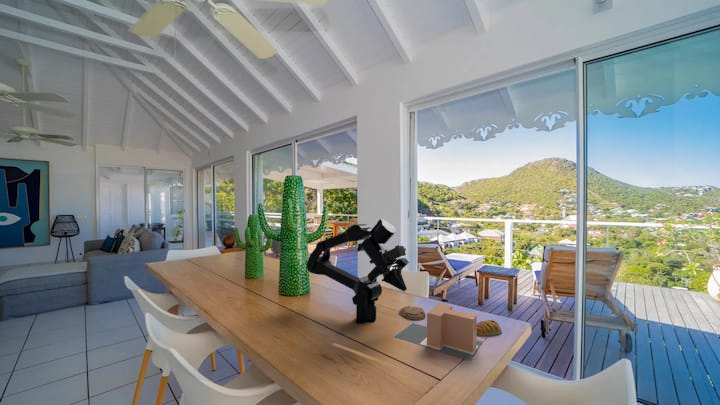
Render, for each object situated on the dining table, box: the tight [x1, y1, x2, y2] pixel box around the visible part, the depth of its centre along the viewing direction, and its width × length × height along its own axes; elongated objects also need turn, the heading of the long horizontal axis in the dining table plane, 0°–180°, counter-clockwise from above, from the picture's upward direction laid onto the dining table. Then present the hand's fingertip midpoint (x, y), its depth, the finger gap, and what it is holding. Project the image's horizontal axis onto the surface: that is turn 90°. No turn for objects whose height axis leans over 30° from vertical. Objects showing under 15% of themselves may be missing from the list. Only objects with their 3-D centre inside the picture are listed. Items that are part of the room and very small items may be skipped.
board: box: [394, 322, 484, 362], centre depth 87 cm, size 22×13×1 cm, turn 54°
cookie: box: [398, 305, 427, 322], centre depth 106 cm, size 10×11×3 cm
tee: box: [426, 303, 478, 353], centre depth 84 cm, size 12×10×9 cm
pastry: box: [477, 319, 503, 337], centre depth 93 cm, size 9×7×4 cm
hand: (405, 290), depth 93 cm, fingers closed
